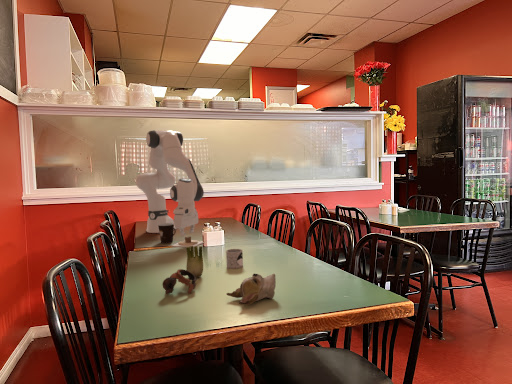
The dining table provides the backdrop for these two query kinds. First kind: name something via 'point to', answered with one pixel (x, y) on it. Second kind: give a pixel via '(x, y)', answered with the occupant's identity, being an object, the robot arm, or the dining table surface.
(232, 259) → the mug
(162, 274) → the dining table surface
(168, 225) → the coffee mug
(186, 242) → the wooden lid
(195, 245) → the grey mat
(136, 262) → the dining table surface
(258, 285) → the ceramic sculpture
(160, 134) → the robot arm
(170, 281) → the brown black curved piece
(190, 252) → the fennel bulb
